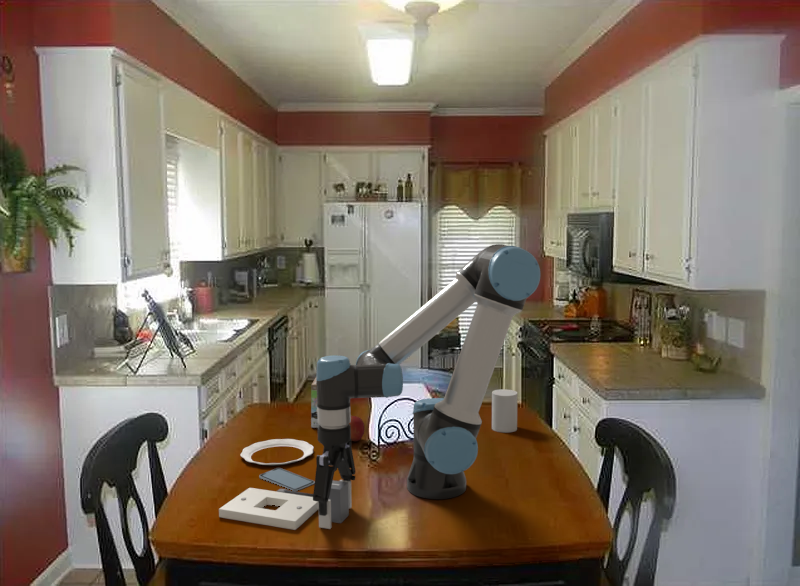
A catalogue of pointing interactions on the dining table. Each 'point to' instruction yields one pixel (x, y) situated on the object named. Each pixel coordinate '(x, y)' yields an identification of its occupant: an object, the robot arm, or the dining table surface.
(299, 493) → the cable
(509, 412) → the white cylinder
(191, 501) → the dining table surface
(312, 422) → the tea box
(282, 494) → the outlet plate
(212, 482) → the dining table surface
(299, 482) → the smartphone
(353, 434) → the apple
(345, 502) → the block
